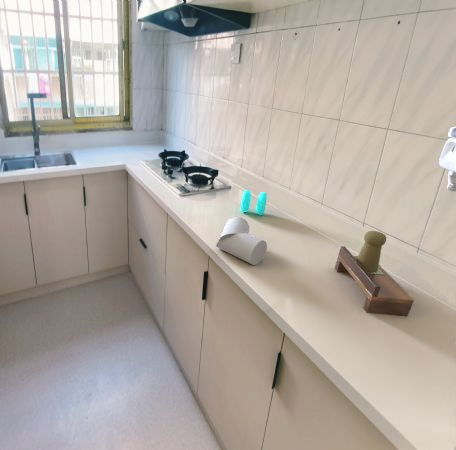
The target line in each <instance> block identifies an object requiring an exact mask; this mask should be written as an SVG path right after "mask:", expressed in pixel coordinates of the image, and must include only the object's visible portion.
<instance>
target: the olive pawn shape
mask: <svg viewBox="0 0 456 450" xmlns="http://www.w3.org/2000/svg"><path fill="white" fill-rule="evenodd" d="M363 239H364V243H363V245H362V247H361V249H360V251H359V253H358V254H357V256H358V257H357V259H356V260H357V261H358V262H359V263H360V264H361V265H362V266H363V268H364V269H365V270H366V271H367V272H371V273H373V272H377V271H378V266H379V265H380V259H381V253H382V248H383V246H384V245H385V244H386V243H387V236H386V234H385V233H383V232H380V231H377V230H368V231H367V232H365V234H364V237H363Z"/></svg>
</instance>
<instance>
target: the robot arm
mask: <svg viewBox="0 0 456 450" xmlns="http://www.w3.org/2000/svg"><path fill="white" fill-rule="evenodd" d="M447 137H449V138H448V139H446V141H445V143H444V145H443V148H442V149H441V150H442V151H441V153H440V155H439V159H438V164H439V167H441V168H443V169H446V170H448V173H447V182H448V183H447V186H446V190H447V191H450V192H454V193H455V192H456V126H453V127H450V129H449V131H448V134H447Z"/></svg>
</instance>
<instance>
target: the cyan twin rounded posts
mask: <svg viewBox="0 0 456 450" xmlns="http://www.w3.org/2000/svg"><path fill="white" fill-rule="evenodd" d="M267 200H268V194H267V192H265V191H262V192H260V193H259V194H258V197H257V201H256V207H255V212H256V214H257V215H258V216H263V215H264V214H265V212H266V206H267ZM251 201H252V193H251V191H250V190H249V189H245V190H244V191H243V193H242V197H241V203H240V211H242V212H241V213H243V212H246V213H248V212H249V210H250V207H251Z"/></svg>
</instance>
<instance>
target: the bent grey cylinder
mask: <svg viewBox="0 0 456 450" xmlns="http://www.w3.org/2000/svg"><path fill="white" fill-rule="evenodd" d="M249 232H250V224H249V222H248V221H247V220H246V218H243V217H241V216H234V217H231V218H229V219H228V220H227V222H226V224H225V226H224V228H223V229H222V232H221V234H220V236H219V239H218V241H217V242H216V244H215V247H216V248H217V249H219V250H222V251H224V252H226V253H228V254H230V255H232V256H234V257H236V258H238V259H240V260H242V261H243V262H246V263H248V264H250V265H252V266H257V265H259V264H260V263H261V262H262V261H263V259H264V258H265V256H266V253H267V249H268V243H267V241H266V240H264V239H261V238H259V237H257V236H255V235H253V234H250V233H249Z"/></svg>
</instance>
